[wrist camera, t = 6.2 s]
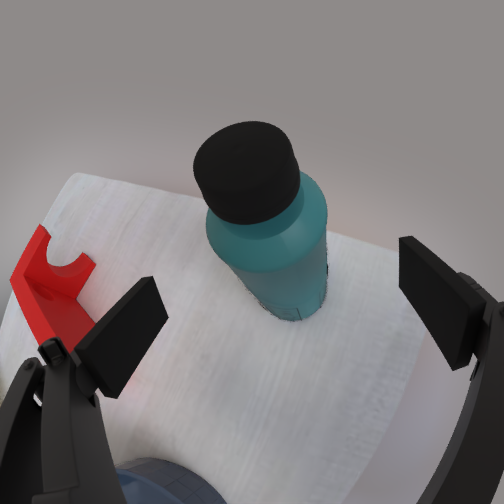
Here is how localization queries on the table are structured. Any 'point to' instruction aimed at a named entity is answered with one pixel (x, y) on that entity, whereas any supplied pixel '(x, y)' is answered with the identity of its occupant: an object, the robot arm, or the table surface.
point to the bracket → (52, 293)
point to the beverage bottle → (265, 217)
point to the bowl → (163, 483)
